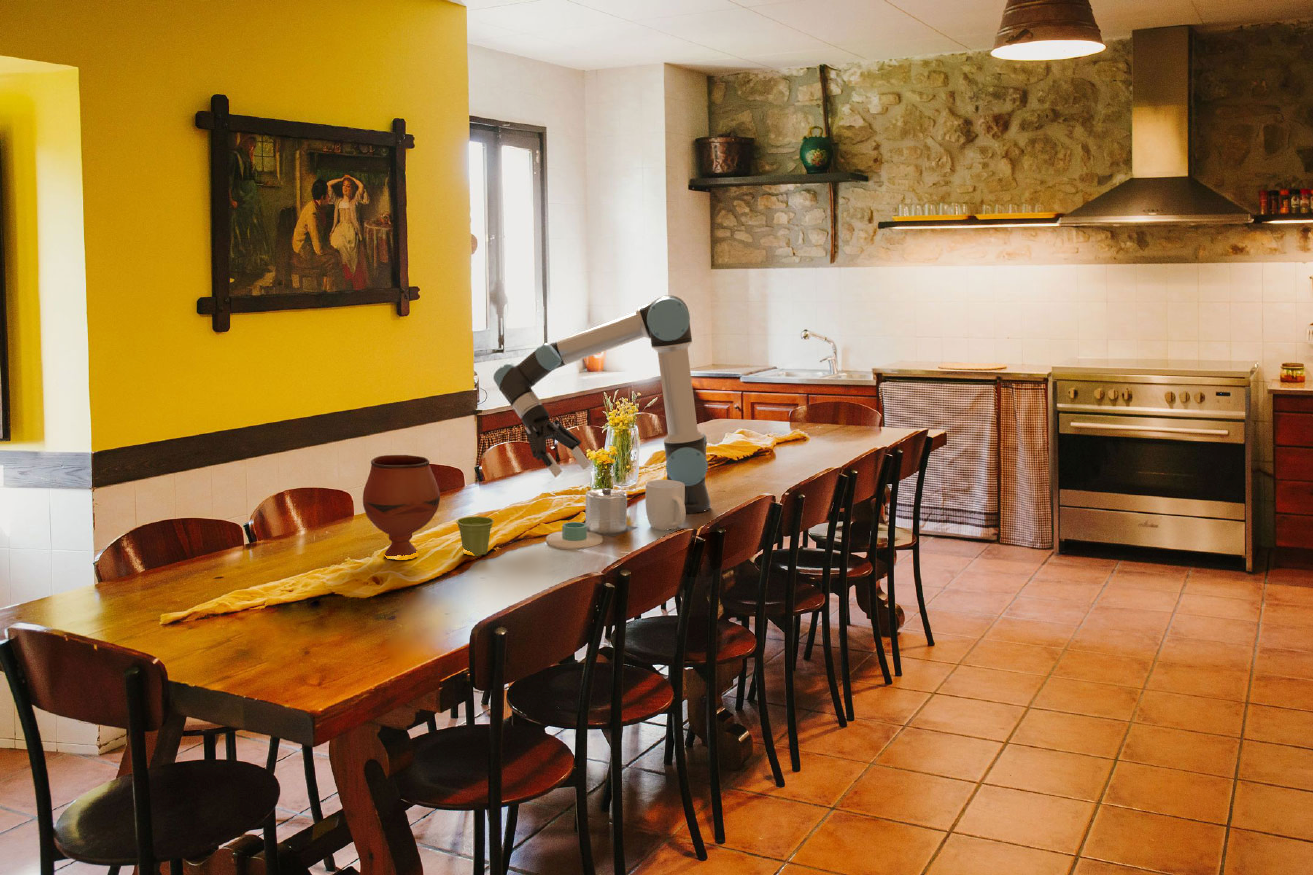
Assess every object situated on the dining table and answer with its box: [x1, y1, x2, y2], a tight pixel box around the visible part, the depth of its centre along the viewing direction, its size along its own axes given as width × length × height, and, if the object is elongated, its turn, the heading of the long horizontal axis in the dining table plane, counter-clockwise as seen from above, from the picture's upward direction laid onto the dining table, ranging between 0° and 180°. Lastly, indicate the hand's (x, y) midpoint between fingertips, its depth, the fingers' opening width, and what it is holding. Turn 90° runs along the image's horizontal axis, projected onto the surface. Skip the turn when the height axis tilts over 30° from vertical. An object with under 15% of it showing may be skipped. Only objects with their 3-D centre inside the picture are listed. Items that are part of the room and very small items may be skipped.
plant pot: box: [456, 516, 495, 557], centre depth 296 cm, size 9×9×9 cm
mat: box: [587, 524, 638, 538], centre depth 322 cm, size 13×13×1 cm
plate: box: [545, 521, 604, 551], centre depth 309 cm, size 15×15×5 cm
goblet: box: [362, 454, 441, 556], centre depth 290 cm, size 19×19×25 cm
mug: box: [645, 479, 687, 531], centre depth 323 cm, size 15×11×13 cm
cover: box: [584, 488, 628, 534], centre depth 321 cm, size 11×11×11 cm
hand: (573, 470), depth 325 cm, fingers open, 13 cm apart
